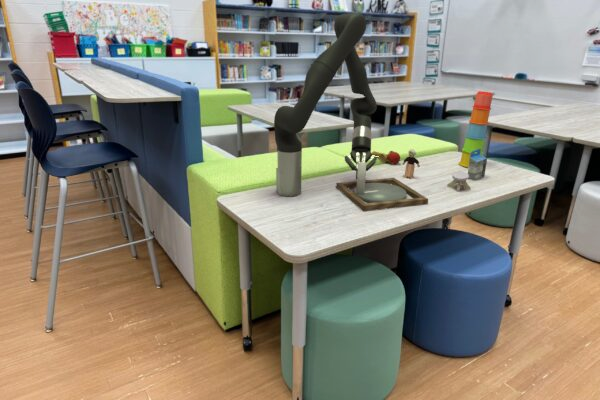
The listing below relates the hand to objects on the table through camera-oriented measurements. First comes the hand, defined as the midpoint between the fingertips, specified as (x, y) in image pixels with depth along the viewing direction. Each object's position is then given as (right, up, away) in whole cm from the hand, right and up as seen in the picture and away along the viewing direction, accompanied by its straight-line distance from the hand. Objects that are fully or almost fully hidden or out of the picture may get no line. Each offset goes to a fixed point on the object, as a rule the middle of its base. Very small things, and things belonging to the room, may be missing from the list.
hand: (359, 179), depth 163 cm
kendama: (+19, +11, +49) cm, 54 cm away
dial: (+8, -6, +3) cm, 11 cm away
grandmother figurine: (+25, +2, +25) cm, 35 cm away
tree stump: (+42, -3, +12) cm, 44 cm away
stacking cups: (+59, +9, +43) cm, 74 cm away
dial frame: (+8, -6, +3) cm, 11 cm away
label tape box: (+54, +2, +25) cm, 60 cm away
